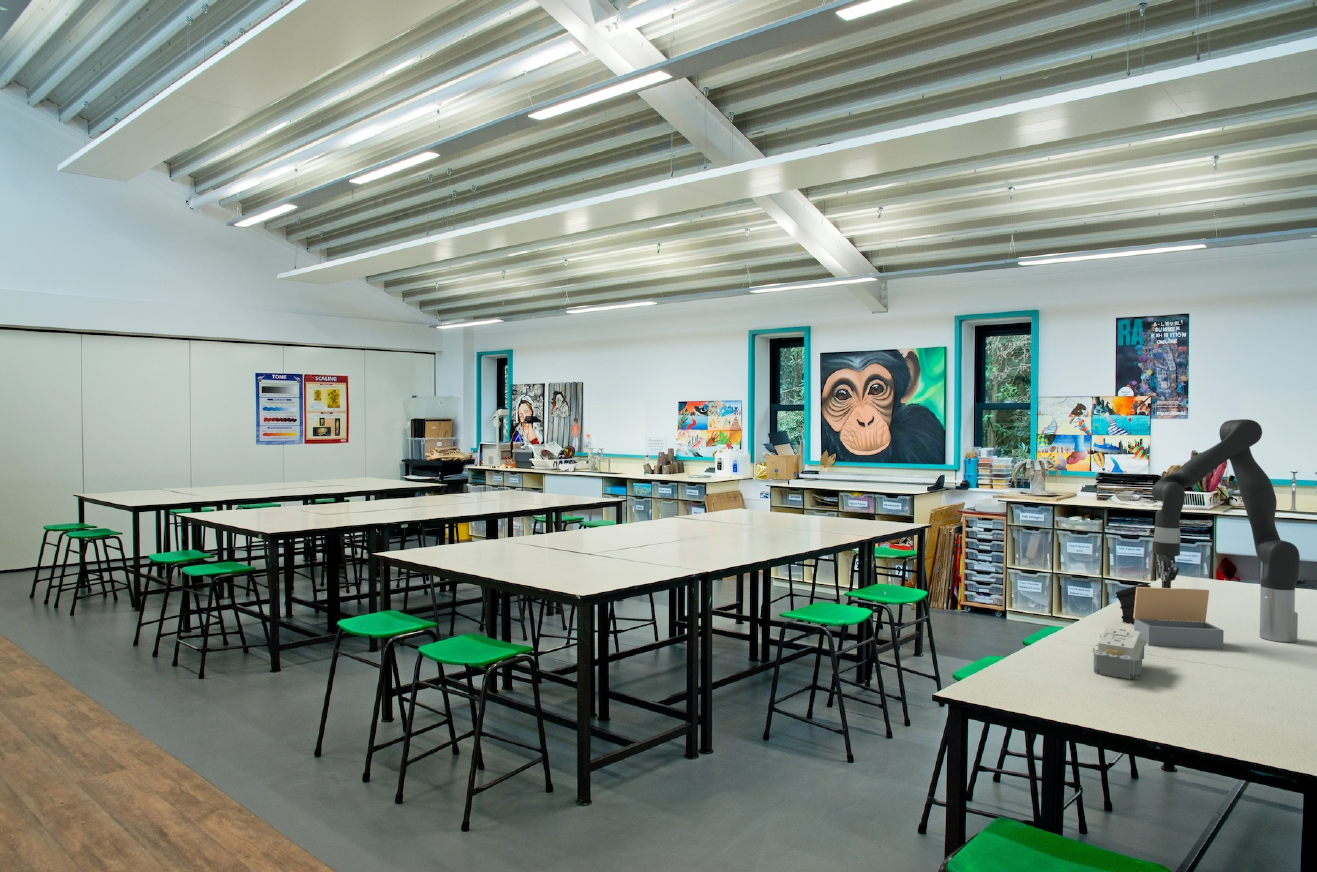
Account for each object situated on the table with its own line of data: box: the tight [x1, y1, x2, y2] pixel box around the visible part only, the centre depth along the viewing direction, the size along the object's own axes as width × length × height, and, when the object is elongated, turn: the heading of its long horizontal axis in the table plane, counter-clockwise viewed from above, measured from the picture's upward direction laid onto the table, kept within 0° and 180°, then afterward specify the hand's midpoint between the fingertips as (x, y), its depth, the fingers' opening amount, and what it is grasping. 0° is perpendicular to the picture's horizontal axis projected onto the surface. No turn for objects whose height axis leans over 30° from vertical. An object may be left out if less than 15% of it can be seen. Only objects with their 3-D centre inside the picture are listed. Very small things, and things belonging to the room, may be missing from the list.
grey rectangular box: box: [1133, 619, 1225, 650], centre depth 265 cm, size 22×11×6 cm, turn 81°
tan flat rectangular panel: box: [1133, 586, 1210, 622], centre depth 270 cm, size 22×11×1 cm
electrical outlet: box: [1092, 626, 1147, 680], centre depth 234 cm, size 12×28×10 cm, turn 144°
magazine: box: [1115, 582, 1152, 625], centre depth 291 cm, size 4×13×15 cm, turn 52°
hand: (1166, 591), depth 273 cm, fingers closed
